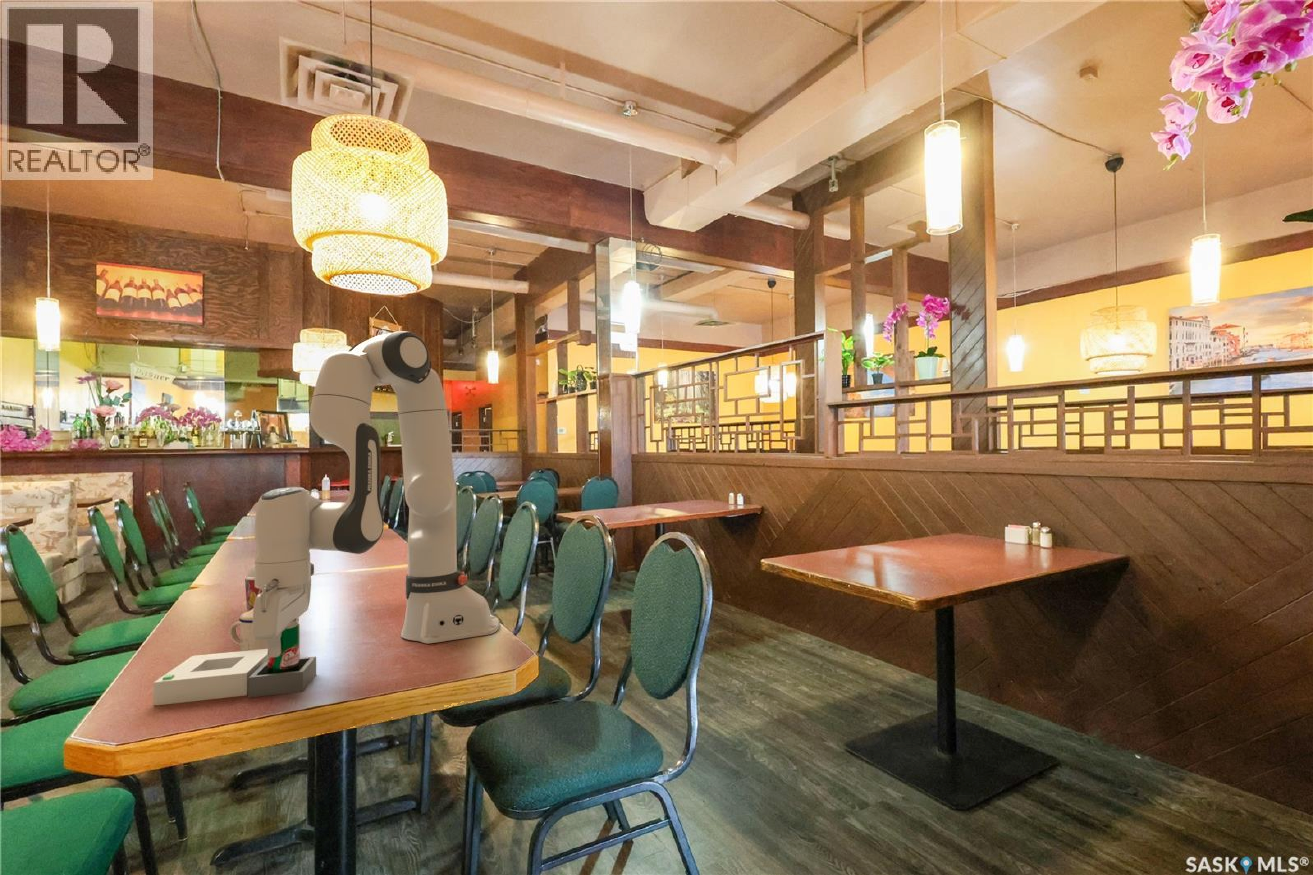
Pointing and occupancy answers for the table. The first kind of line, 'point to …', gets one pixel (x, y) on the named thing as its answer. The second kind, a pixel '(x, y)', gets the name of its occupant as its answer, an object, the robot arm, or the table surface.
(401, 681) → the table surface
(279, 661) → the soda can
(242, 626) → the teacup with lid
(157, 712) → the table surface
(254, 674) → the grey square tray
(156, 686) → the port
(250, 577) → the smoothie
